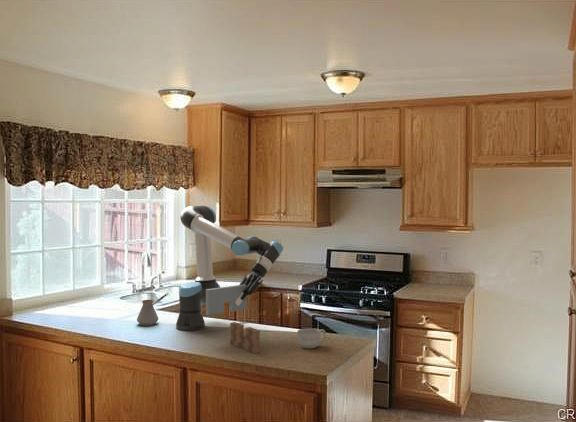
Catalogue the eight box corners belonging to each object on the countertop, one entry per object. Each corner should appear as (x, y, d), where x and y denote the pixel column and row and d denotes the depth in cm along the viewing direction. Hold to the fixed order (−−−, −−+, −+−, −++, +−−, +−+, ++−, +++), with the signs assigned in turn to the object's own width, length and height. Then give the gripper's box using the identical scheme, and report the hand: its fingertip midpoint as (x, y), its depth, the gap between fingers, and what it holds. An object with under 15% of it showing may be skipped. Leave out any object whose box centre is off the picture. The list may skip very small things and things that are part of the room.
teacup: (300, 350, 251) (300, 333, 250) (294, 344, 261) (294, 327, 261) (329, 349, 254) (330, 331, 254) (322, 342, 264) (323, 326, 264)
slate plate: (205, 314, 260) (205, 289, 260) (243, 308, 274) (243, 284, 274) (208, 315, 258) (208, 290, 258) (246, 309, 273) (246, 285, 272)
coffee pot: (146, 327, 292) (146, 299, 291) (132, 324, 298) (132, 297, 298) (176, 320, 310) (176, 293, 309) (161, 317, 316) (161, 291, 316)
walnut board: (230, 343, 262) (230, 322, 262) (234, 342, 263) (234, 322, 263) (255, 353, 246) (255, 331, 246) (259, 352, 248) (259, 330, 248)
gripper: (275, 273, 275) (248, 311, 265) (256, 270, 287) (230, 306, 277) (266, 263, 272) (239, 301, 261) (248, 261, 284) (221, 296, 273)
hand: (234, 303), depth 269 cm, fingers closed on slate plate, 2 cm apart
